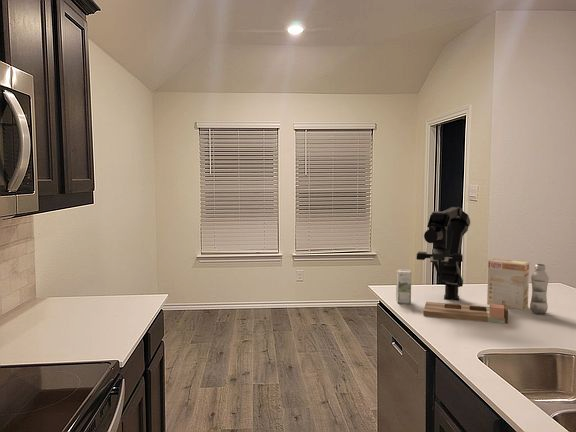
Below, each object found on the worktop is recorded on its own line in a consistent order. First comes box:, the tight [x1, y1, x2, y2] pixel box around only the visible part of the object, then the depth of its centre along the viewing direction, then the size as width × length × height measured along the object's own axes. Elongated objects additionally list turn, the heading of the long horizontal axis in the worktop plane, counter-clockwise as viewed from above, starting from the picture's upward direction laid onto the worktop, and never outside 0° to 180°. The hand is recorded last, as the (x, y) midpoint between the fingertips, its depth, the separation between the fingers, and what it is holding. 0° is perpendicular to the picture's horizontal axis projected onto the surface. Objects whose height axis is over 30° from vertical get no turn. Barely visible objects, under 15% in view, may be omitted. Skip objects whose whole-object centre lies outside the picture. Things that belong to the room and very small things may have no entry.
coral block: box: [489, 304, 504, 319], centre depth 182 cm, size 5×5×4 cm
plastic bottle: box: [529, 263, 550, 314], centre depth 192 cm, size 6×7×20 cm
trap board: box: [422, 301, 509, 324], centre depth 191 cm, size 14×31×5 cm, turn 70°
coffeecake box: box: [486, 258, 530, 311], centre depth 203 cm, size 15×7×20 cm, turn 47°
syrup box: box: [395, 269, 412, 305], centre depth 210 cm, size 6×6×14 cm
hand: (439, 276), depth 203 cm, fingers closed
